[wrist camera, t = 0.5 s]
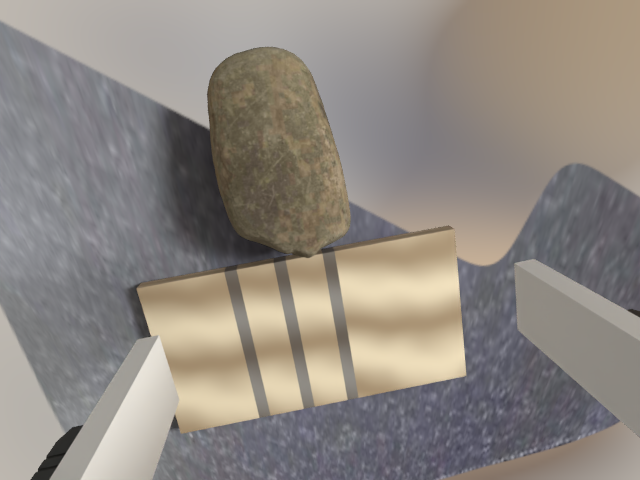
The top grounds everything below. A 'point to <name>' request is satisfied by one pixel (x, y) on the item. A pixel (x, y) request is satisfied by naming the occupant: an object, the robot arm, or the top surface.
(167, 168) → the top surface
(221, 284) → the board
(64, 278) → the top surface
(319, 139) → the stone
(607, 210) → the top surface
